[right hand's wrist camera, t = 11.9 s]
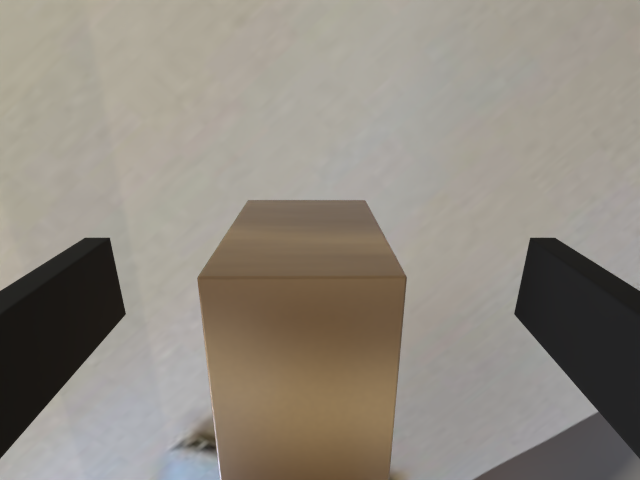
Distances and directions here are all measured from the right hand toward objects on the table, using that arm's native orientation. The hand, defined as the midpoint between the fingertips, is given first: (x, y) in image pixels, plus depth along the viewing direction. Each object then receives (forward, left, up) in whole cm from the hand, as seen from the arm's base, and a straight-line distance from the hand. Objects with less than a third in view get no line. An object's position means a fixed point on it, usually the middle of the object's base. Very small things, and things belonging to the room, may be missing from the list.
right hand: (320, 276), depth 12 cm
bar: (+6, +9, -6) cm, 13 cm away
